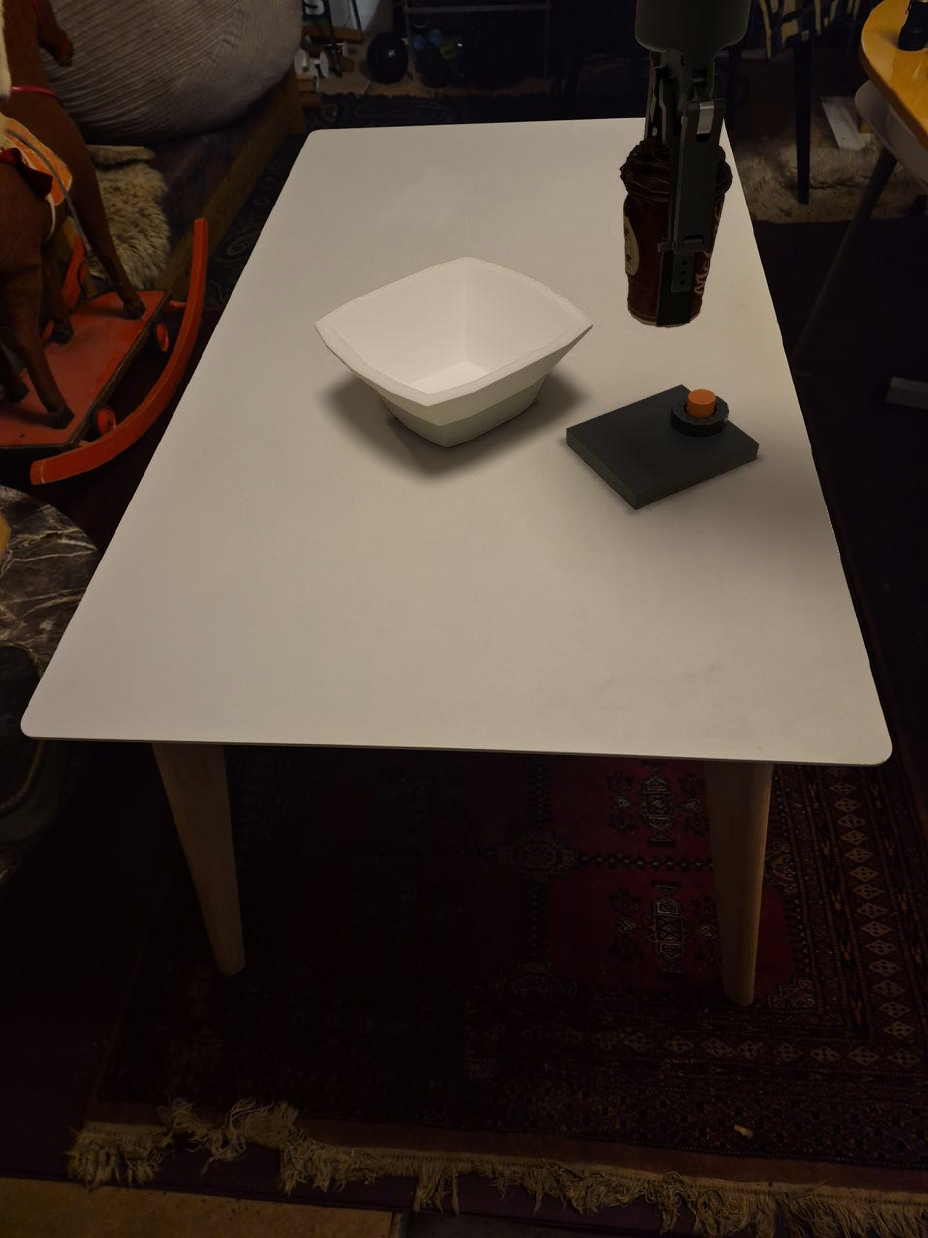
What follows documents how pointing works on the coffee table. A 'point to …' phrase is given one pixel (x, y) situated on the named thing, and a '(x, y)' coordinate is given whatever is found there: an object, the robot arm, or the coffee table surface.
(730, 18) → the robot arm
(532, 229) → the coffee table surface
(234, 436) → the coffee table surface
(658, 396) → the scale
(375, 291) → the bowl
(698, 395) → the button
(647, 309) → the coffee cup
